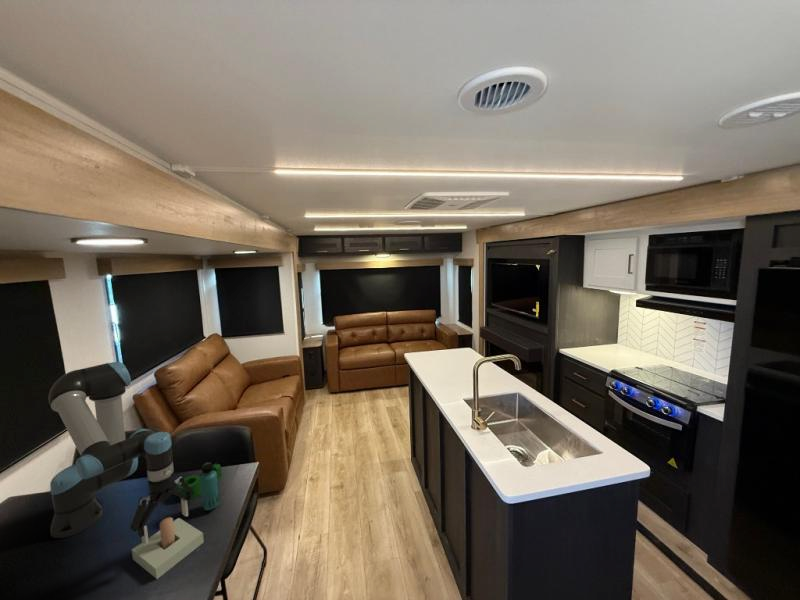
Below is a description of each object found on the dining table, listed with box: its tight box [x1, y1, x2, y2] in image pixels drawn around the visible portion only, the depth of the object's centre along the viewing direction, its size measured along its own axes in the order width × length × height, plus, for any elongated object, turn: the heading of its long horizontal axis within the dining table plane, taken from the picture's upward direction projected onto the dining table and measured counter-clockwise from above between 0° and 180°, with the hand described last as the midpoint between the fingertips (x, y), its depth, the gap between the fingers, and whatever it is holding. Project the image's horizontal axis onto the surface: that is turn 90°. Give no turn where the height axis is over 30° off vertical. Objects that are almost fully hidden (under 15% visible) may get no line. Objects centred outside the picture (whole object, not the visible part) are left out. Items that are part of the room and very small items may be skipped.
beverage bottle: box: [200, 463, 220, 511], centre depth 138 cm, size 6×7×20 cm
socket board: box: [131, 517, 204, 580], centre depth 119 cm, size 16×16×4 cm
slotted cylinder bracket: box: [177, 461, 223, 501], centre depth 152 cm, size 18×9×6 cm, turn 167°
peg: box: [159, 516, 175, 550], centre depth 119 cm, size 4×4×12 cm
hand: (166, 527), depth 118 cm, fingers open, 13 cm apart
